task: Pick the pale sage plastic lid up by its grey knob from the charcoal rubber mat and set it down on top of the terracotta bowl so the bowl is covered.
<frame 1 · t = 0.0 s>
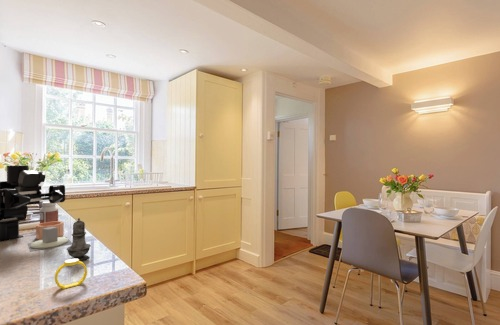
hand: (47, 197, 83), 17 cm above the counter, tool horizontal, fingers open, 9 cm apart
mat: (50, 244, 88), on the counter
lid: (50, 243, 88), resting on mat
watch: (71, 287, 59), on the counter
bowl: (50, 237, 97), on the counter
pill bottle: (49, 228, 110), on the counter
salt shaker: (78, 260, 75), on the counter
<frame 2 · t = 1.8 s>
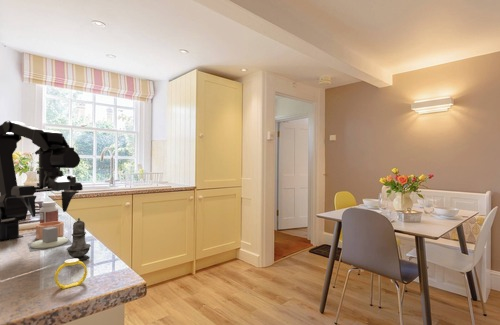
hand: (49, 214, 88), 10 cm above the counter, tool pointing down, fingers open, 9 cm apart
nothing on the counter moved.
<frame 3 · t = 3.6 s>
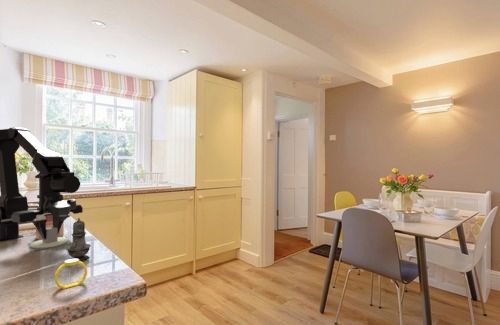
hand: (50, 238, 88), 2 cm above the counter, tool pointing down, fingers closed on lid, 3 cm apart
lid: (50, 243, 88), resting on mat, touching gripper
everything else where it was.
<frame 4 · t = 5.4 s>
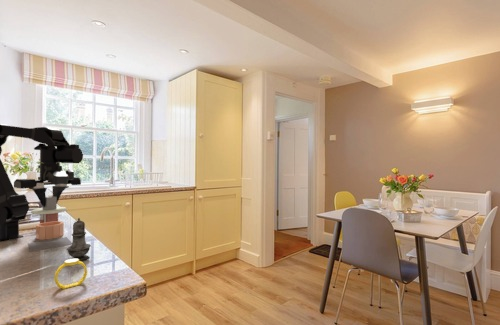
hand: (49, 206, 94), 12 cm above the counter, tool pointing down, fingers closed on lid, 3 cm apart
lid: (49, 211, 94), point 10 cm above the counter, touching gripper
everything else where it was.
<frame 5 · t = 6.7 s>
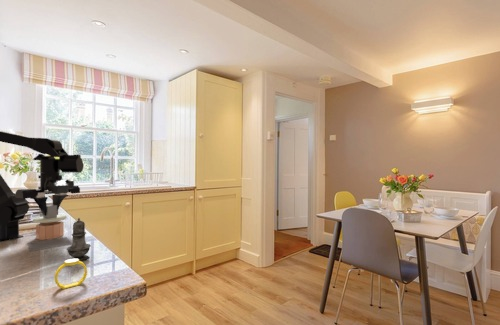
hand: (50, 214, 97), 8 cm above the counter, tool pointing down, fingers closed on lid, 3 cm apart
lid: (50, 219, 97), point 6 cm above the counter, touching gripper
everything else where it was.
when the fingers open (8 cm above the counter, at t = 7.5 s): lid drops 1 cm, resting on bowl.
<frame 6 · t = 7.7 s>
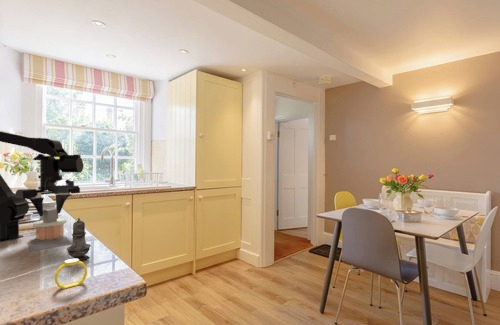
hand: (50, 214, 97), 8 cm above the counter, tool pointing down, fingers open, 5 cm apart
lid: (50, 223, 97), point 5 cm above the counter, touching bowl
everything else where it was.
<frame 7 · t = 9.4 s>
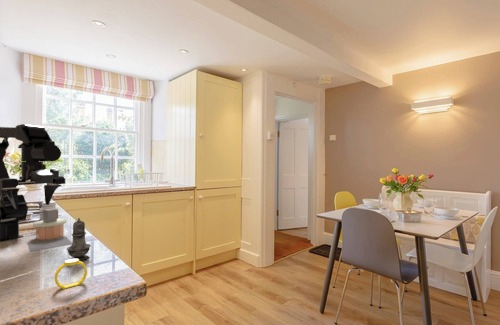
hand: (32, 206, 90), 13 cm above the counter, tool pointing down, fingers open, 9 cm apart
nothing on the counter moved.
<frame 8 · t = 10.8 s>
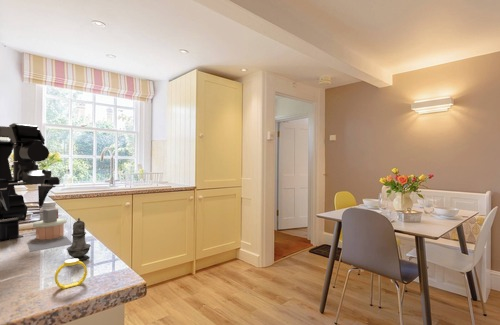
hand: (24, 208, 88), 12 cm above the counter, tool pointing down, fingers open, 9 cm apart
nothing on the counter moved.
at the end: lid 0.1 cm from the bowl (horizontally); lid point 5.0 cm above the counter; lid tilted 0° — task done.
